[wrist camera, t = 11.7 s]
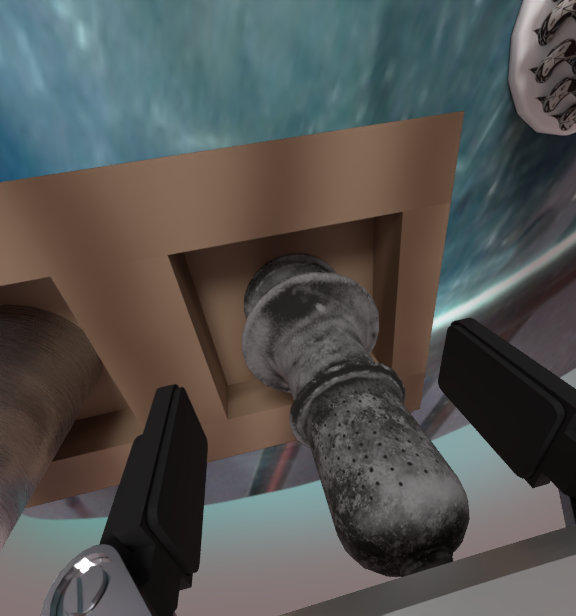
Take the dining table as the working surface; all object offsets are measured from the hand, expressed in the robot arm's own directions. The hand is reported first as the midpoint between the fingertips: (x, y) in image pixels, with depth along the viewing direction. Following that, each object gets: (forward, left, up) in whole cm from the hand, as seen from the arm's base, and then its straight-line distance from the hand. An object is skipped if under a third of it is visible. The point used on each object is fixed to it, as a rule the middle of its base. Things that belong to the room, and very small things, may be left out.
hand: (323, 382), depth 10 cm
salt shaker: (0, 0, -6) cm, 6 cm away
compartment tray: (+6, 0, -7) cm, 10 cm away
